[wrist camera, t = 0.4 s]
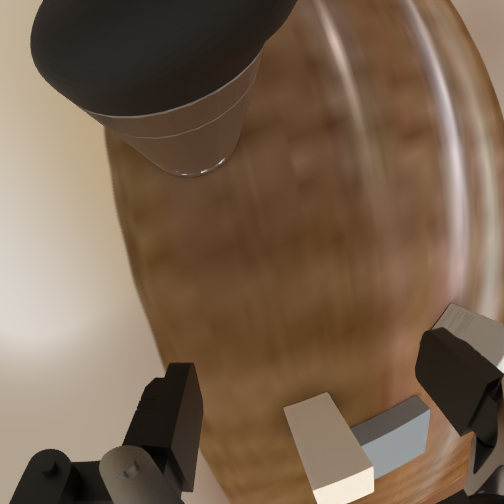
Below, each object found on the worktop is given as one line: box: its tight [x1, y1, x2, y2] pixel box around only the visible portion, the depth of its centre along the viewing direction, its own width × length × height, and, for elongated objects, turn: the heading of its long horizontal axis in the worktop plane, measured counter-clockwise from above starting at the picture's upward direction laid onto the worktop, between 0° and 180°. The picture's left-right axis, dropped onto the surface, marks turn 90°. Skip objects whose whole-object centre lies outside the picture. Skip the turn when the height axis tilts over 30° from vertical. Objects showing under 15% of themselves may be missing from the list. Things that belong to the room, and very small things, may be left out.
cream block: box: [283, 392, 374, 504], centre depth 24 cm, size 6×6×13 cm
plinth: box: [350, 395, 430, 479], centre depth 31 cm, size 11×11×4 cm
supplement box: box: [420, 303, 504, 373], centre depth 25 cm, size 7×7×13 cm
